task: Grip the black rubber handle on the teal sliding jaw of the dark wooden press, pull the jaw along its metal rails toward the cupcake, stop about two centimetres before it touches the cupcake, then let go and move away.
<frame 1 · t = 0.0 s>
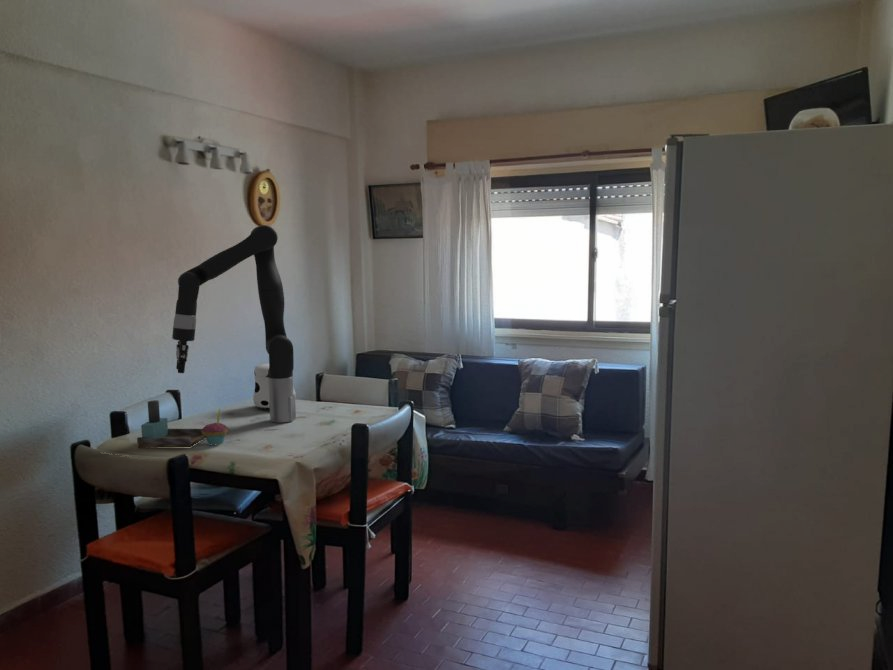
hand: (180, 371, 239), 22 cm above the table, tool pointing down, fingers open, 8 cm apart
milk container: (275, 408, 280), on the table
press base: (172, 443, 226), on the table
press jaw: (154, 420, 226), point 8 cm above the table, slide at 0.0 cm
cupcake: (215, 444, 225), on the table
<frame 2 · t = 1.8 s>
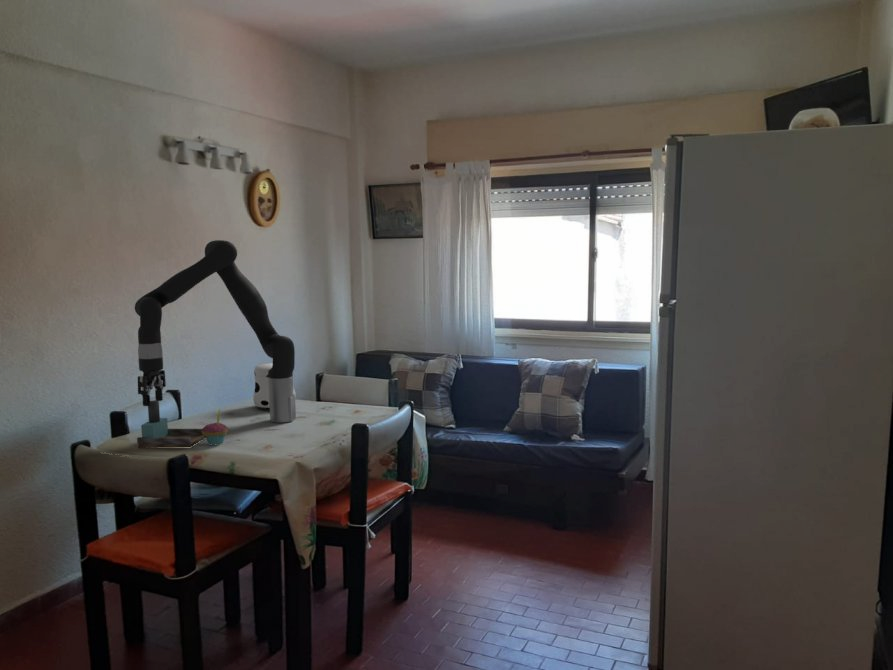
hand: (153, 403, 225), 14 cm above the table, tool pointing down, fingers open, 8 cm apart
nothing on the table moved.
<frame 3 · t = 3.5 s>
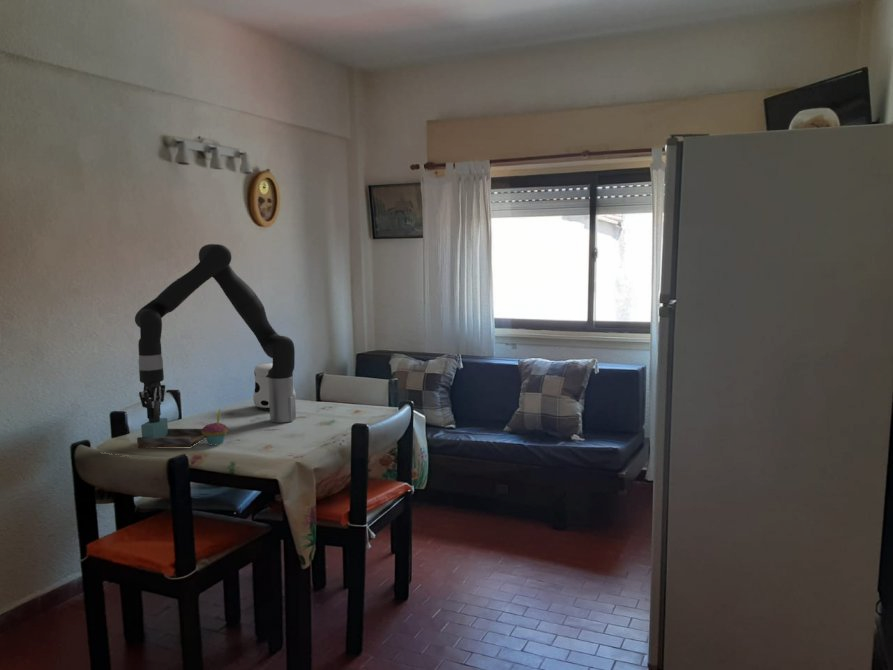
hand: (154, 416, 225), 9 cm above the table, tool pointing down, fingers closed on press jaw, 3 cm apart
press jaw: (154, 420, 226), point 8 cm above the table, slide at 0.0 cm, touching gripper
everything else where it was.
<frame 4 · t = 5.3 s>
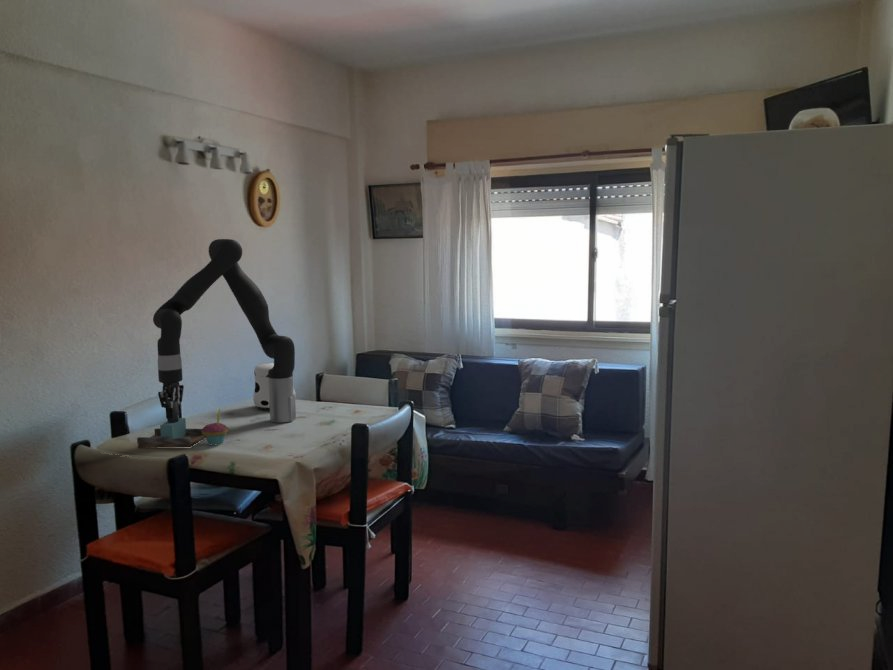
hand: (172, 417, 225), 9 cm above the table, tool pointing down, fingers closed on press jaw, 3 cm apart
press jaw: (172, 420, 225), point 8 cm above the table, slide at 6.6 cm, touching gripper
everything else where it was.
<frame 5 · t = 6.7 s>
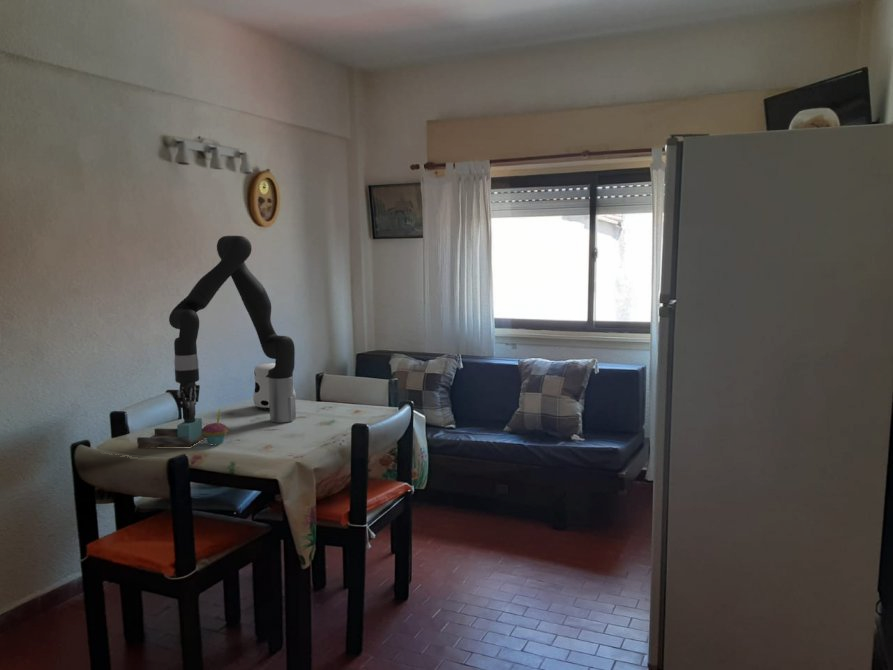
hand: (189, 417, 225), 9 cm above the table, tool pointing down, fingers closed on press jaw, 3 cm apart
press jaw: (189, 420, 225), point 8 cm above the table, slide at 12.4 cm, touching gripper
everything else where it was.
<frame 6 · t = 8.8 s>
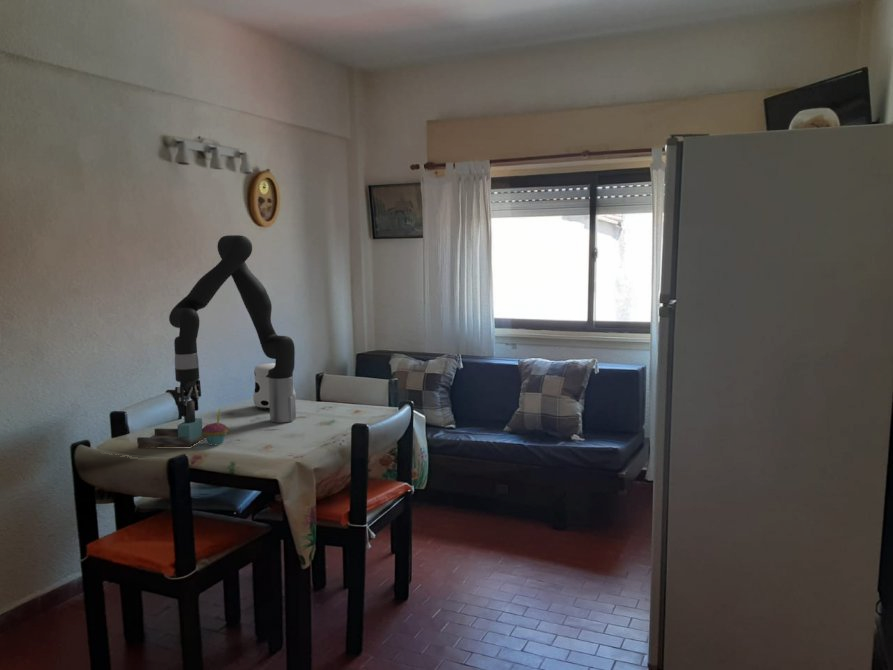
hand: (189, 413, 225), 10 cm above the table, tool pointing down, fingers open, 8 cm apart
press jaw: (189, 420, 225), point 8 cm above the table, slide at 12.5 cm
everything else where it was.
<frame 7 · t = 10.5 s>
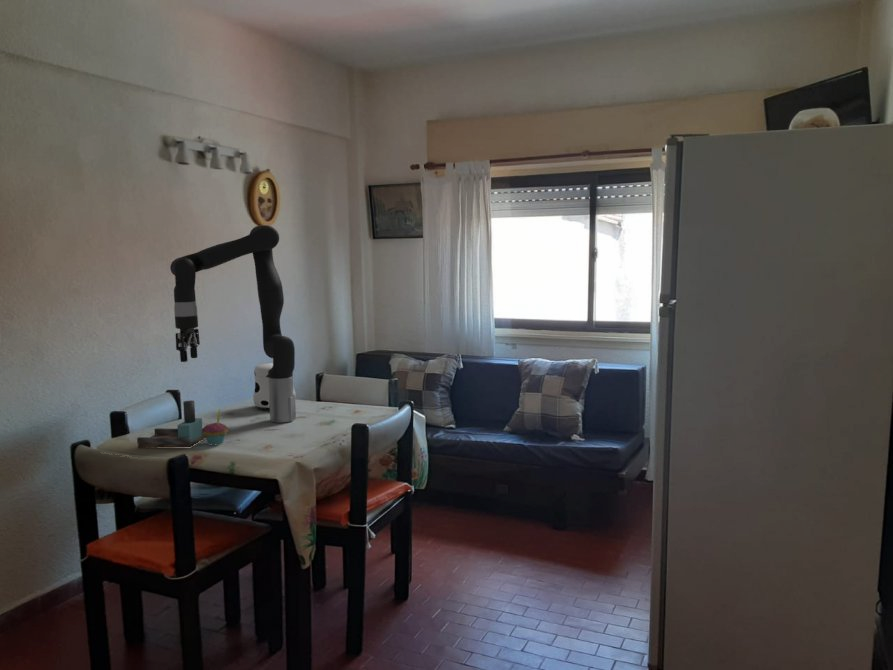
hand: (189, 359, 235), 27 cm above the table, tool pointing down, fingers open, 8 cm apart
nothing on the table moved.
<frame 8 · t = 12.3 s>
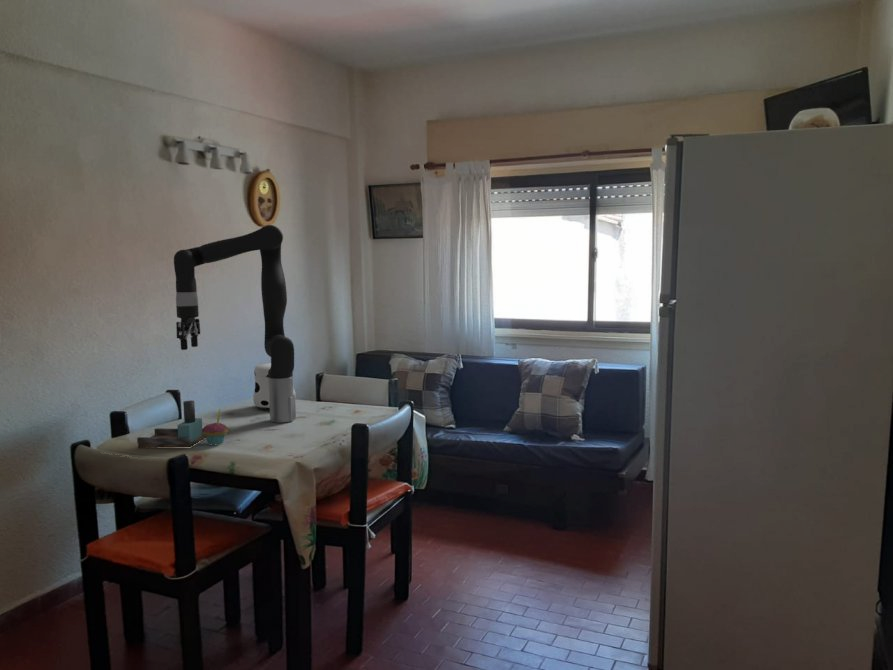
hand: (189, 348, 244), 30 cm above the table, tool pointing down, fingers open, 8 cm apart
nothing on the table moved.
at the end: press jaw slide at 12.5 cm; cupcake moved 0.2 cm from its start; the gripper is holding nothing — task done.
